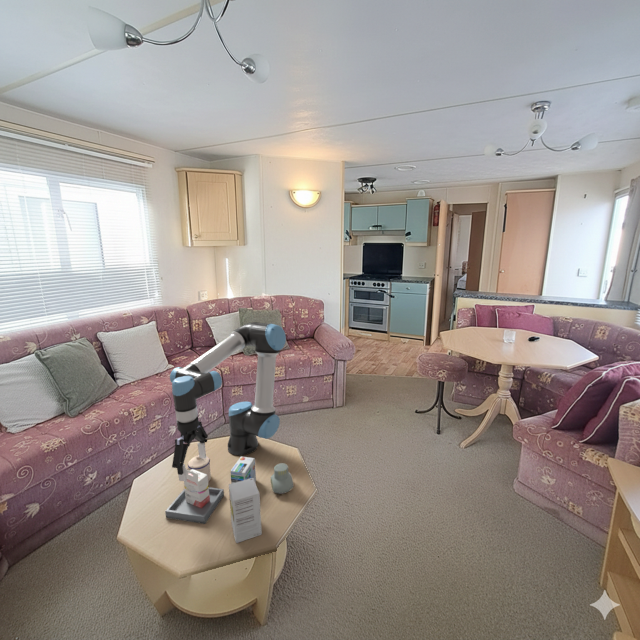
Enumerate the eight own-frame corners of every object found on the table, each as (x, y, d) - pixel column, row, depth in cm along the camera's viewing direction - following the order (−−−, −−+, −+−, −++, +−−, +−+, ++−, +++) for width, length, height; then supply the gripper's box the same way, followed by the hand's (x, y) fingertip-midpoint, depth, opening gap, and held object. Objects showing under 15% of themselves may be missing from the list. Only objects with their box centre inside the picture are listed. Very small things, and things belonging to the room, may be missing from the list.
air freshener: (294, 494, 139) (293, 473, 137) (274, 499, 137) (273, 477, 135) (288, 478, 149) (288, 457, 147) (270, 482, 147) (269, 461, 145)
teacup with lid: (210, 470, 155) (208, 447, 153) (212, 483, 147) (210, 458, 145) (181, 478, 150) (179, 454, 148) (182, 491, 142) (180, 466, 140)
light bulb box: (246, 496, 139) (245, 473, 136) (231, 494, 140) (229, 471, 138) (256, 479, 149) (255, 457, 147) (242, 477, 150) (240, 455, 148)
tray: (188, 490, 142) (188, 484, 142) (224, 495, 139) (223, 489, 139) (166, 517, 128) (165, 511, 127) (204, 524, 125) (204, 517, 124)
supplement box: (231, 524, 125) (227, 483, 121) (256, 516, 128) (253, 476, 125) (235, 544, 116) (232, 501, 113) (262, 535, 120) (260, 492, 116)
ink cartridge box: (210, 500, 135) (207, 467, 132) (201, 509, 131) (197, 475, 128) (195, 494, 139) (191, 461, 136) (185, 502, 135) (181, 468, 132)
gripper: (196, 402, 139) (201, 448, 143) (156, 435, 115) (164, 490, 120) (213, 403, 137) (218, 450, 142) (176, 437, 113) (183, 492, 118)
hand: (193, 468), depth 131 cm, fingers open, 13 cm apart
